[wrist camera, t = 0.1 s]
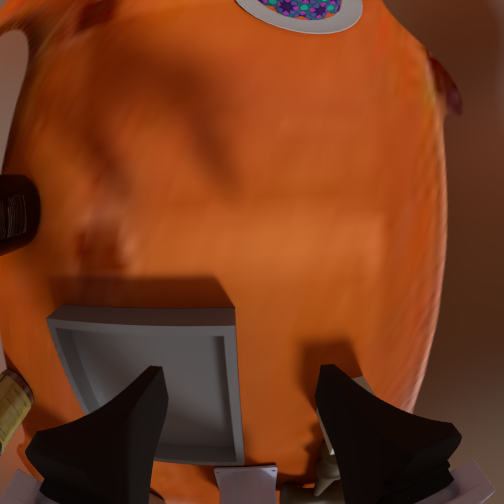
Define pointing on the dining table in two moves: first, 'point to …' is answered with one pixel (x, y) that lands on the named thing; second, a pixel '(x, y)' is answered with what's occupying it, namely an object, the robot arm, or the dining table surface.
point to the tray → (174, 367)
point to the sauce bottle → (12, 405)
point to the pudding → (306, 14)
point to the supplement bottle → (17, 212)
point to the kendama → (318, 484)
